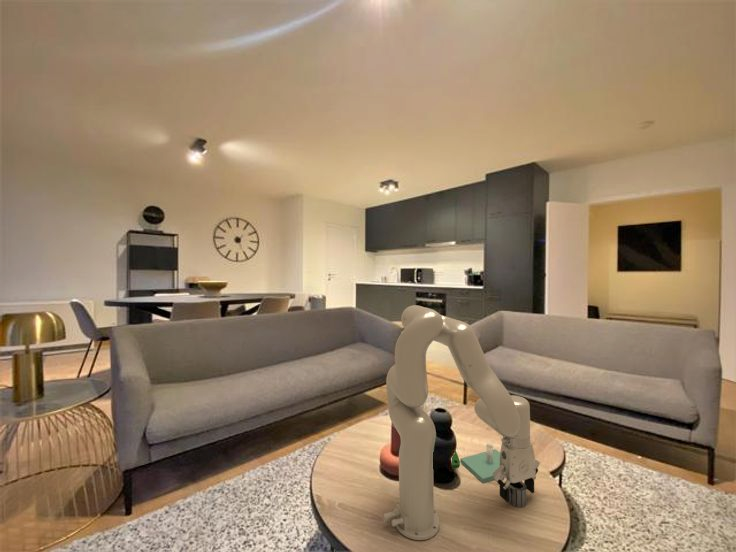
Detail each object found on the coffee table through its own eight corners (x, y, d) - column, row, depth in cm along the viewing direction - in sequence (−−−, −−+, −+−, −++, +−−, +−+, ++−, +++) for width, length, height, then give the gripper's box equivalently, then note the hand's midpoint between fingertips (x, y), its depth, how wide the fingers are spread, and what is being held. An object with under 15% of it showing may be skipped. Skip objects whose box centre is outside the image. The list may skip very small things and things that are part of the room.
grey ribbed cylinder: (516, 509, 92) (516, 492, 92) (503, 497, 97) (502, 481, 97) (530, 504, 94) (530, 487, 94) (516, 492, 99) (516, 477, 99)
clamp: (432, 486, 109) (423, 467, 107) (429, 471, 115) (420, 453, 113) (465, 474, 108) (456, 455, 106) (460, 460, 114) (451, 441, 112)
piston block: (483, 483, 104) (482, 457, 104) (460, 462, 115) (460, 439, 115) (520, 471, 109) (520, 447, 109) (495, 452, 121) (495, 430, 120)
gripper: (503, 451, 89) (503, 511, 89) (548, 438, 95) (549, 494, 95) (484, 438, 96) (485, 494, 96) (527, 427, 102) (528, 479, 102)
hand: (517, 494), depth 96 cm, fingers open, 9 cm apart
